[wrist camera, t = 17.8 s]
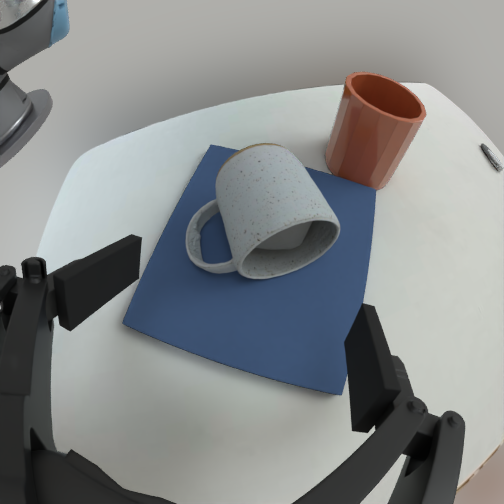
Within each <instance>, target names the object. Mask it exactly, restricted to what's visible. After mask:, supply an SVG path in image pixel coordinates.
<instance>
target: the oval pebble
mask: <svg viewBox="0 0 504 504" xmlns="http://www.w3.org/2000/svg"><path fill="white" fill-rule="evenodd" d="M481 147H482V149H483V150H484V152H485V153H486V155H487V156H488V158H489V159H490V161H491V162H492V163H493V165H494V166H495V167H496V168H497V169H498V170H499V171H500V172H501V171H502V169H503V168H504V167H503V165H502V164H501V162H500V161H499V159H498V158H497V157H496V156H495V155H494V153H493V152H492V151H491V150H490V149H489V148H488V147H487V146H486V145H485V144H481Z"/></svg>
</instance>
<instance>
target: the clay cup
mask: <svg viewBox="0 0 504 504" xmlns="http://www.w3.org/2000/svg"><path fill="white" fill-rule="evenodd" d="M425 117H426V111H425V107H424V105H423V104H422V102H421V101H420V100H419V98H418V97H417V96H416V95H415V94H414V93H412V92H411V91H410V90H409V89H408V88H406V87H405V86H403V85H401V84H400V83H398V82H396V81H394V80H392V79H390V78H387V77H385V76H382V75H379V74H375V73H369V72H354V73H352V74H350V75H349V76H347V77H346V81H345V85H344V88H343V92H342V96H341V99H340V103H339V106H338V110H337V113H336V117H335V120H334V124H333V127H332V131H331V134H330V137H329V141H328V144H327V149H326V152H325V160H326V163H327V166H328V168H329V169H330V171H331V172H332V173H333V174H334V176H337V177H340V178H344V179H347V180H350V181H353V182H356V183H359V184H362V185H365V186H368V187H371V188H373V189H376V190H379V189H381V188H383V187H384V186H386V184H387V183H388V182H389V180H390V178H391V177H392V175H393V174H394V172H395V170H396V169H397V167H398V165H399V163H400V162H401V160H402V158H403V157H404V155H405V153H406V151H407V150H408V148H409V146H410V144H411V142H412V141H413V139H414V137H415V135H416V133H417V132H418V130H419V128H420V126H421V124H422V122H423V120H424V119H425Z"/></svg>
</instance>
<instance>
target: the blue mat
mask: <svg viewBox="0 0 504 504" xmlns="http://www.w3.org/2000/svg"><path fill="white" fill-rule="evenodd" d="M238 151H239V150H235V149H230V148H225V147H221V146H216V145H210V147H209V149H208V150H207V152H206V154H205V155H204V157H203V159H202V161H201V162H200V164H199V166H198V168H197V169H196V171H195V173H194V175H193V176H192V178H191V180H190V182H189V184H188V185H187V187H186V189H185V191H184V193H183V195H182V196H181V198H180V200H179V202H178V204H177V206H176V208H175V210H174V211H173V213H172V215H171V217H170V219H169V221H168V223H167V225H166V227H165V229H164V231H163V233H162V235H161V237H160V239H159V241H158V243H157V245H156V247H155V249H154V252H153V254H152V256H151V258H150V260H149V262H148V264H147V267H146V269H145V271H144V273H143V275H142V277H141V280H140V282H139V284H138V286H137V289H136V291H135V293H134V296H133V298H132V300H131V303H130V305H129V307H128V310H127V312H126V315H125V317H124V320H123V322H122V323H123V324H124V325H126V326H128V327H130V328H132V329H135V330H137V331H139V332H141V333H144V334H146V335H148V336H151V337H153V338H155V339H158V340H160V341H163V342H165V343H168V344H170V345H173V346H175V347H178V348H180V349H183V350H185V351H188V352H191V353H193V354H196V355H199V356H201V357H204V358H207V359H210V360H213V361H216V362H218V363H221V364H224V365H227V366H230V367H233V368H237V369H240V370H243V371H246V372H249V373H253V374H256V375H259V376H263V377H266V378H270V379H273V380H277V381H281V382H284V383H288V384H292V385H296V386H300V387H304V388H308V389H313V390H317V391H321V392H326V393H331V394H335V395H342V392H343V389H344V385H345V381H346V377H347V364H346V355H345V347H344V341H345V339H346V337H347V335H348V333H349V331H350V329H351V327H352V324H353V322H354V320H355V318H356V316H357V314H358V311H359V309H360V307H361V305H362V303H363V299H364V293H365V287H366V281H367V274H368V267H369V260H370V252H371V243H372V234H373V224H374V213H375V199H376V189H373V188H371V187H368V186H365V185H362V184H359V183H356V182H353V181H350V180H347V179H344V178H340V177H337V176H334V175H331V174H327V173H324V172H321V171H317V170H314V169H311V168H307V167H305V169H306V171H307V172H308V174H309V175H310V177H311V178H312V180H313V181H314V183H315V184H316V186H317V187H318V189H319V190H320V192H321V193H322V195H323V197H324V198H325V200H326V201H327V203H328V204H329V206H330V208H331V209H332V211H333V212H334V214H335V215H336V217H337V219H338V221H339V224H340V234H339V236H338V238H337V240H336V241H335V243H334V244H333V245H332V246H331V248H330V249H329V250H327V251H326V252H325V253H324V254H323V255H322V256H321V257H319V258H318V259H316V260H315V261H313V262H311V263H310V264H308V265H306V266H304V267H303V268H300V269H298V270H296V271H293V272H290V273H287V274H285V275H281V276H276V277H272V278H268V279H251V278H246V277H244V276H242V275H241V274H239V272H238V271H237V270H236V271H233V272H228V273H220V274H219V273H212V272H209V271H206V270H204V269H202V268H200V267H198V266H196V265H195V264H194V263H193V262H192V261H191V260H190V258H189V256H188V253H187V249H186V241H185V240H186V231H187V228H188V225H189V223H190V221H191V219H192V217H193V216H194V215H195V214H196V213H197V212H198V210H199V209H200V208H202V207H203V206H204V205H206V204H207V203H209V202H210V201H212V200H215V199H216V188H215V184H216V177H217V174H218V172H219V170H220V168H221V166H222V165H223V164H224V163H225V161H226V160H227V159H228V158H229V157H231V156H232V155H233V154H234V153H236V152H238ZM199 234H200V236H201V239H200V247H201V253H202V258H203V261H204V262H205V263H208V264H218V263H225V262H228V261H230V260H231V259H232V258H233V257H232V253H231V249H230V245H229V242H228V239H227V235H226V231H225V226H224V222H223V219H222V216H221V213H220V212H218V213H216V214H215V215H213V216H212V217H211V218H210V219H209V220H208V221H207V222H206V223H205V224H204V226H203V227H202V229H201V231H200V233H199Z"/></svg>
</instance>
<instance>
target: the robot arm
mask: <svg viewBox="0 0 504 504" xmlns="http://www.w3.org/2000/svg"><path fill="white" fill-rule="evenodd" d="M68 32H69V17H68V9H67V0H0V146H1V145H2V144H3V143H4V142H5V141H6V140H7V139H9V138H10V137H11V136H12V135H13V134H14V133H15V131H16V130H17V129H18V128H19V127H20V126H21V125H22V124H23V122H24V121H25V120H26V118H27V117H28V115H29V114H30V112H31V110H32V107H33V103H32V101H31V99H30V97H29V96H28V95H27V94H26V93H25V92H23V91H22V90H21V89H20V88H19V87H18V86H16V85H15V84H14V83H13V82H12V81H11V80H10V78H9V76H8V74H7V72H8V71H10V70H11V69H12V68H14V67H15V66H17V65H19V64H20V63H22V62H24V61H25V60H27V59H29V58H30V57H32V56H34V55H35V54H37V53H39V52H41V51H42V50H44V49H46V48H49V47H51V45H52V44H54V43H56V42H58V41H59V40H61V39H63V38H64V37H65V36H66V35H67V34H68ZM141 242H142V237H139V236H135V235H132V234H131V235H129V236H127V237H125V238H123V239H121V240H119V241H117V242H115V243H113V244H111V245H109V246H107V247H105V248H103V249H101V250H99V251H97V252H95V253H93V254H91V255H89V256H87V257H85V258H83V259H79V260H74V261H73V262H71V263H69V264H68V265H65V266H63V267H62V268H59V269H57V270H56V271H54V272H52V273H50V274H48V275H47V271H46V261H45V260H44V259H42V258H39V257H31V258H28V259H25V260H24V261H23V262H22V263H21V265H22V273H23V278H20V277H17V276H16V269H15V268H14V267H13V266H7V265H5V266H1V267H0V305H1V309H0V504H176V503H173V502H171V501H168V500H166V499H163V498H160V497H155V496H151V495H146V494H142V493H138V492H134V491H130V490H126V489H124V488H122V487H121V486H120V485H118V484H117V483H116V482H115V481H114V480H113V479H111V478H110V477H109V476H108V475H107V474H106V473H105V472H104V471H102V470H101V469H100V468H99V467H98V466H97V465H95V464H94V463H92V462H90V461H89V460H87V459H86V458H84V457H82V456H81V455H79V454H78V453H76V452H75V451H73V450H72V449H71V450H70V451H69V452H68V454H65V453H62V452H58V451H57V450H56V447H55V444H54V440H53V432H52V418H51V357H52V342H53V330H54V321H53V318H55V317H56V316H57V315H58V318H59V324H60V326H62V327H64V328H65V329H67V330H68V331H72V330H73V329H74V328H75V327H77V326H78V325H79V324H80V323H82V322H83V321H84V320H85V319H87V318H88V317H89V316H90V315H92V314H93V313H94V312H95V311H97V310H98V309H99V308H101V307H102V306H103V305H104V304H106V303H107V302H108V301H110V300H111V299H112V298H113V297H115V296H116V295H117V294H119V293H120V292H121V291H123V290H124V289H125V288H127V287H128V286H129V285H131V284H132V283H133V282H135V281H136V280H137V279H139V268H140V254H141ZM344 347H345V355H346V364H347V374H348V384H349V395H350V408H351V423H352V431H356V432H364V433H368V432H369V431H370V430H371V429H372V427H373V426H374V425H375V430H376V431H375V432H374V433H373V434H372V435H371V436H370V437H369V438H368V439H367V440H366V441H365V442H364V443H363V444H362V445H361V446H360V447H359V448H358V449H357V450H356V451H355V452H354V453H353V454H352V455H351V456H350V457H349V458H348V459H346V460H345V461H344V462H343V463H342V464H341V465H340V466H339V467H338V468H336V469H335V470H334V471H333V472H332V473H331V474H330V475H328V476H327V477H326V478H325V479H324V480H322V481H321V482H320V483H319V484H317V485H316V486H315V487H314V488H312V489H311V490H310V491H308V492H307V493H306V494H304V495H303V496H302V497H300V498H299V499H298V500H296V501H295V502H293V503H292V504H360V503H361V501H362V500H363V499H364V498H365V497H366V496H367V495H368V494H369V493H370V492H371V491H372V490H373V488H374V487H375V486H376V485H377V484H378V483H379V482H380V480H381V479H382V478H383V477H384V476H385V474H386V473H387V472H388V471H389V469H390V468H391V467H392V466H393V464H394V463H395V462H396V460H397V459H398V458H399V456H400V455H401V454H404V455H407V457H406V459H405V462H404V465H403V468H402V470H401V473H400V476H399V478H398V481H397V483H396V486H395V488H394V490H393V493H392V495H391V497H390V499H389V502H388V504H453V503H454V499H455V495H456V490H457V485H458V480H459V474H460V468H461V462H462V454H463V446H464V436H465V422H464V420H463V418H462V417H461V416H460V415H459V414H458V413H456V412H454V411H446V412H445V413H444V414H443V415H442V416H441V417H438V416H435V415H432V414H430V413H428V409H427V406H426V405H425V403H424V402H423V401H422V400H420V399H419V398H417V397H414V393H413V390H412V387H411V384H410V381H409V379H408V375H407V373H406V369H405V366H404V364H403V362H402V361H401V360H400V358H399V357H398V356H393V355H391V353H390V350H389V347H388V344H387V341H386V338H385V335H384V332H383V329H382V326H381V323H380V321H379V318H378V315H377V312H376V310H375V307H374V306H371V305H368V304H364V303H362V305H361V307H360V309H359V311H358V314H357V316H356V318H355V320H354V322H353V324H352V327H351V329H350V331H349V333H348V335H347V337H346V339H345V341H344Z"/></svg>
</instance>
